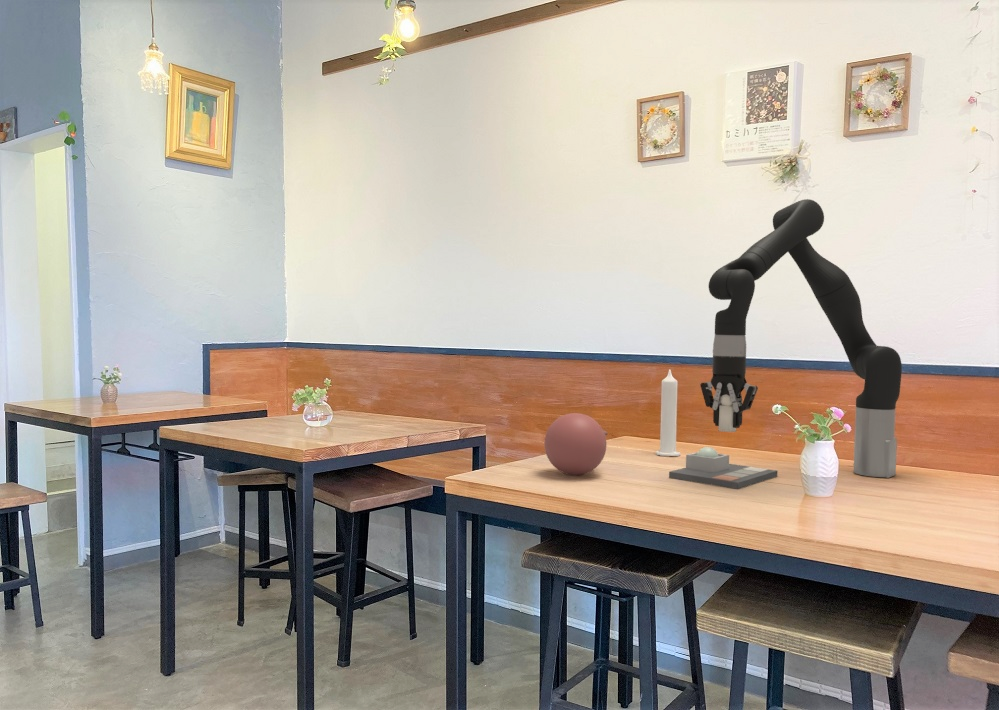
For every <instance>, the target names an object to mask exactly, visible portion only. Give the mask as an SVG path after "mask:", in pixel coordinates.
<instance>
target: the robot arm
mask: <svg viewBox="0 0 999 710" xmlns="http://www.w3.org/2000/svg"><path fill="white" fill-rule="evenodd" d="M772 217H773V218H772V227H773V231H771V232H770V233H767V235H765V236H764V237H762V238H761V239H759V240H758V241H756V242H754V244H752V245H751V246H750V247H749V248H747V249H746V250H745V252H743V253H742V254H741V255H740V256H739V257H737V258H736V259H734V260H732V261H730V262H728V263H725V265H723V266H722V267H720V268H718V269H717V270H716V271H715V272H713V274H712V275H711V277H710V279H709V281H708V291H709V294H710V295H711V296H712V298H714V299H716V300H720V301H727V300H728V301H729V300H730V302H729V304H728V307H727V308H725V309H721V310H718V311H717V312H716V314H715V319H714V339H713V344H712V345H713V346H712V378H711V379H710V381H707V382H704V381H703V382H700V388H701V393H702V397H703V399H704V404H705V406H706V407H707V408H710V409H712V410H713V415H712V418H713V420H712V421H713V424H714V425H715V426H716V427H719V405H722V403H721V397H722V396H723V395H729V396H730V398H731V402H732V403H733V408H734V411H735V412H733V428H736V429H739V428H740V427H741V426H742V425H743V412H744V411H747V410H750V409H751V407H752V405H753V403H754V399H755V397H756V395H757V391H758V386H757V385H752V384H750V383H747V382H748V381H747V380H746V374H747V373H746V370H747V369H746V366H747V340H746V339H747V337H746V335H747V334H746V333H747V317H748V314H749V310H750V306H751V303H752V300H753V297H754V293H755V289H756V282H755V281H758V280H760V279H761V278H762V277H763V276H764V275H765V274H766V273H767V272H768V271H769V270H770V269H771V268H772V267H773V266H774V265H775V264H776V263H777V262H778V261H780V259H782V257H784V256H785V255H786V254H787V253H788V254H789V255H790V256H791V257H790V258H792V259H793V261H794V262H795V264H796V265H797V267H798V269H799V270H800V272H801V274H802V275H803V277H804V279H805V280H806V282H807V284H808V285H809V287H810V289H811V291H812V293H813V295H814V297H815V299H816V300H817V302H818V305H819V306H820V309H822V311H823V313H824V314H825V316H826V318H827V320H828V322H829V323H830V324H831V325H830V326H832V329H833V330H834V331H835V333H836V335H837V337H838V338H839V341H840V343H841V345H842V347H843V349H844V352H845V354H846V357H847V359H848V362H849V363H850V366H851V368H852V370H853V372H854V373H855V374H856V376H857V377H859V378H861V379H862V380H864V385H863V390H862V392H860V394H858V395H857V396H856V399H855V413H854V414H855V415H854V416H855V418H854V420H855V421H854V444H853V445H854V447H853V448H854V449H853V473H854V474H856V475H860V476H866V477H874V478H875V477H876V478H888V479H890V478H892V477H893V476H896V475H897V474H896V472H897V447H898V439H897V437H895V434H896V433H895V432H896V430H895V429H896V408H897V407H896V406H897V405H896V404H897V401H898V400H899V397H900V393H901V384H902V383H901V382H902V371H903V368H902V367H903V366H902V359H901V356H900V354H899V353H898V352H897V350H895V349H894V348H892V347H891V346H885V345H877V344H876V342H875V341H874V340H873V339H872V337H871V335H870V333H869V332H868V329H867V328H866V326H865V323H864V319H863V313H862V312H863V311H862V304H861V298H860V296H859V293H858V291H857V289H856V287H855V285H854V284H853V281H852V280H851V278H850V277H849V275H848V274H847V273H846V272H845V271H844V269H841V267H839V266H838V265H836V264H834V263H833V262H831V261H829V259H827V258H825V257H824V256H823V255H821V254H819V253H818V252H817V250H816V249H814V246H813V245H812V244H811V242H810V241H809V239H808V238H809V237H811V236H813V235H814V234H816V233H817V232H819V231H820V230H821V229H822V227H823V225H824V222H825V214H824V211H823V208H822V207H821V206H820V204H819V203H818V202H817V201H815V200H813V199H809V198H807V199H801V200H798V201H795V202H793V203H791V204H790V205H787V206H786V207H784V208H782V209H781V208H780V209H779V210H777V211H776V212H775V213H774V215H773V216H772ZM713 389H714V391H715V393H714V394H713V392H712V390H713ZM743 391H745V392H744V393H745V396H744V398H743V397H742V392H743Z"/></svg>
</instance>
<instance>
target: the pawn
mask: <svg viewBox="0 0 999 710" xmlns="http://www.w3.org/2000/svg"><path fill="white" fill-rule="evenodd" d="M721 403H722V405H719V426H718V431H719V432H723V433H737V428H733V412H735V411H734V408H733V403H732V402H731V398H730V396H729V395H723V396H722V397H721Z"/></svg>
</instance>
